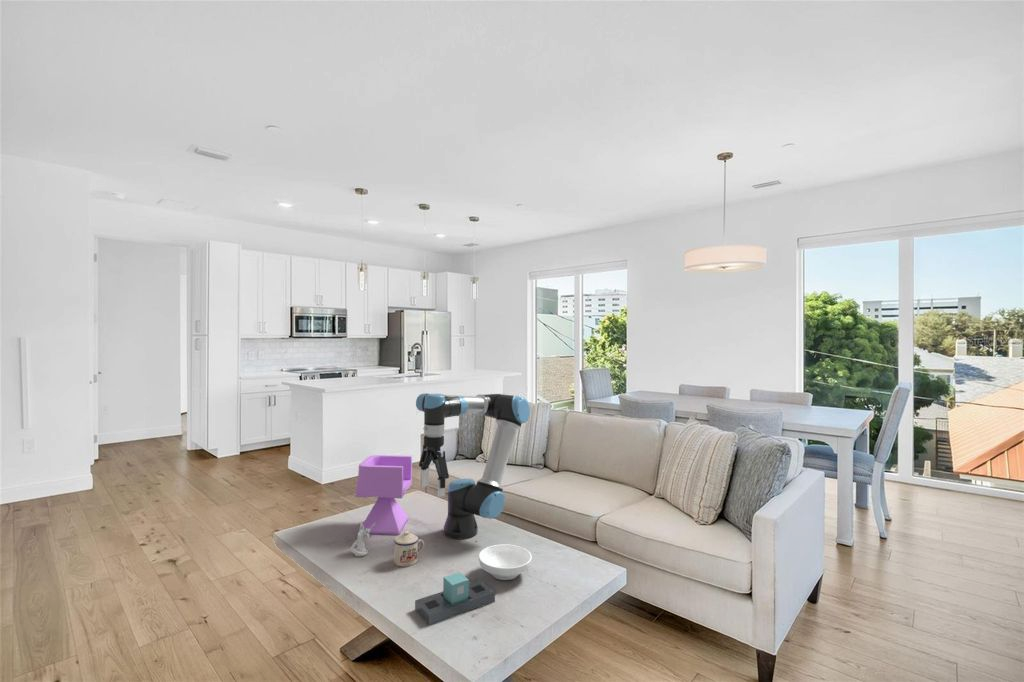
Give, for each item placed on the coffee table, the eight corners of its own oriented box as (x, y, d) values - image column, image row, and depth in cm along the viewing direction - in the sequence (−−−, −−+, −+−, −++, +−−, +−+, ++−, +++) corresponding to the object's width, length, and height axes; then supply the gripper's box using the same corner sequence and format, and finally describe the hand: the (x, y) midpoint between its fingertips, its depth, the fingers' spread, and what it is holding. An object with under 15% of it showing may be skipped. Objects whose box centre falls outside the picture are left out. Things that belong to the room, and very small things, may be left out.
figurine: (357, 560, 189) (358, 529, 189) (346, 553, 194) (347, 523, 194) (381, 551, 197) (381, 521, 197) (370, 545, 202) (370, 516, 202)
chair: (400, 536, 211) (402, 467, 210) (355, 535, 211) (356, 466, 211) (411, 518, 231) (412, 455, 230) (369, 517, 231) (370, 454, 231)
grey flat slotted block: (479, 588, 169) (479, 579, 169) (494, 601, 161) (495, 592, 161) (414, 609, 155) (415, 600, 155) (428, 625, 147) (428, 615, 147)
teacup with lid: (399, 569, 181) (400, 538, 181) (390, 560, 189) (390, 530, 188) (428, 561, 188) (429, 531, 188) (418, 552, 196) (419, 523, 195)
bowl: (537, 567, 185) (538, 549, 185) (521, 593, 167) (522, 572, 167) (490, 558, 192) (490, 540, 192) (469, 582, 173) (470, 562, 173)
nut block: (459, 598, 162) (459, 572, 162) (468, 607, 158) (468, 579, 157) (442, 604, 159) (443, 577, 159) (451, 613, 154) (452, 585, 154)
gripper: (411, 430, 191) (410, 484, 192) (440, 442, 171) (439, 502, 171) (428, 428, 196) (427, 481, 196) (459, 440, 175) (457, 499, 176)
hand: (432, 491), depth 184 cm, fingers open, 13 cm apart
